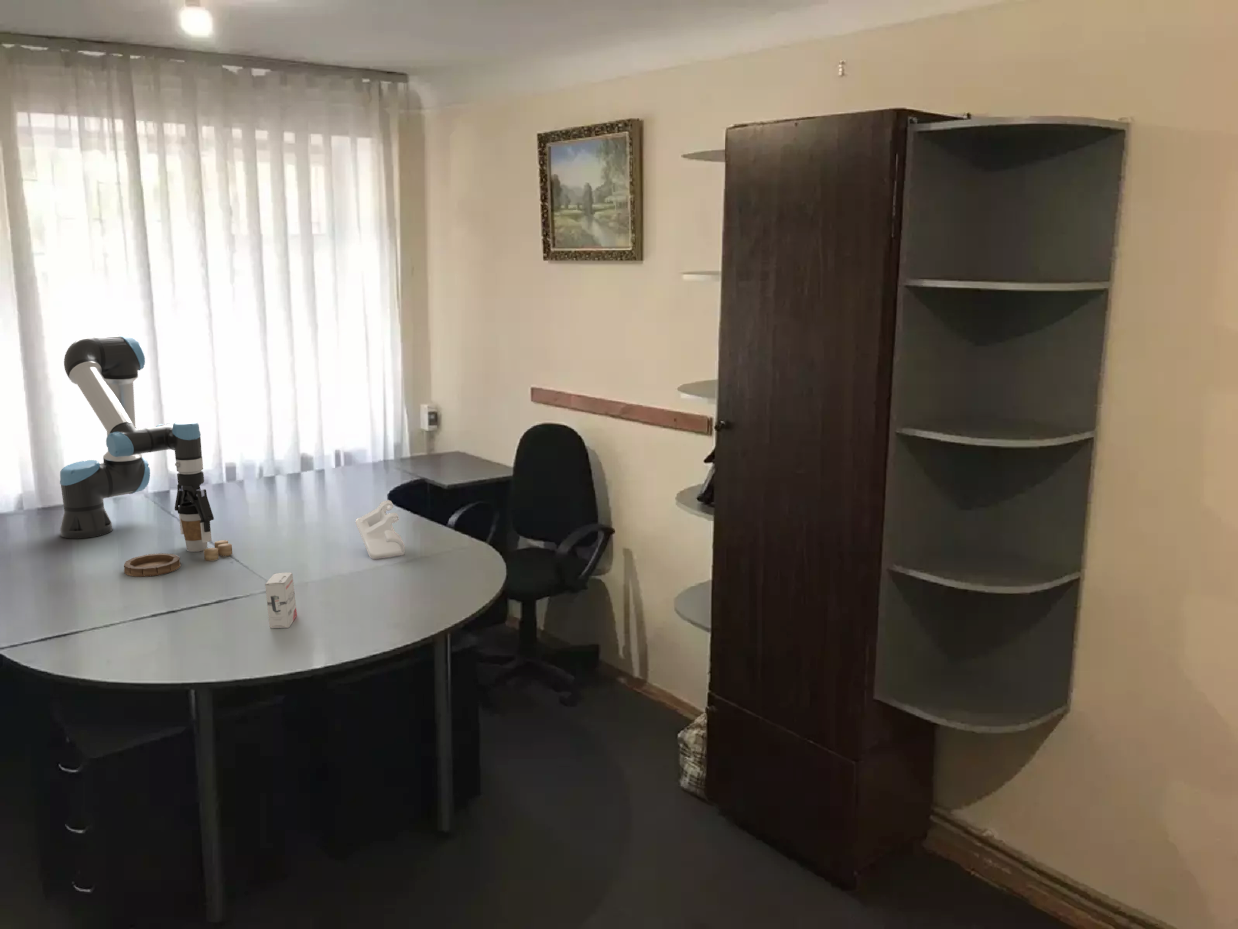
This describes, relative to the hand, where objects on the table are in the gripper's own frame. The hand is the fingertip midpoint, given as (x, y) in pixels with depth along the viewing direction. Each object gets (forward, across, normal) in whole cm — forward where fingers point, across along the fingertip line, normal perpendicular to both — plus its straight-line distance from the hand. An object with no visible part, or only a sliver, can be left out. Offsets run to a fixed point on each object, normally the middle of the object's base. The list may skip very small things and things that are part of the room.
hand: (196, 537), depth 302 cm
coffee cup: (+4, 0, 0) cm, 4 cm away
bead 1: (+4, +13, -2) cm, 14 cm away
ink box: (+4, +76, -16) cm, 78 cm away
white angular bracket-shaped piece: (+4, +45, +37) cm, 58 cm away
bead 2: (+4, +8, +4) cm, 10 cm away
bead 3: (+4, +12, +3) cm, 13 cm away
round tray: (+4, +9, -18) cm, 20 cm away
